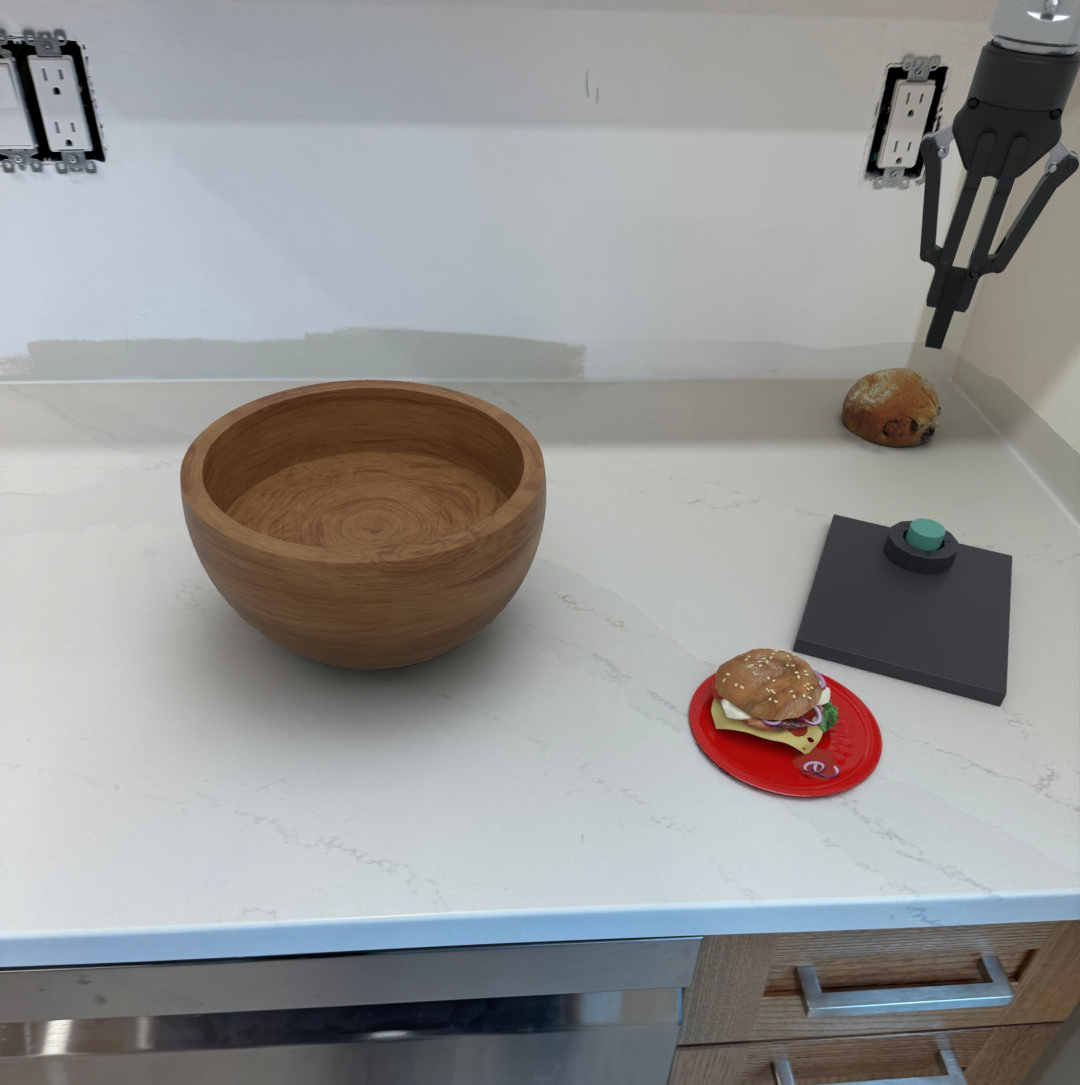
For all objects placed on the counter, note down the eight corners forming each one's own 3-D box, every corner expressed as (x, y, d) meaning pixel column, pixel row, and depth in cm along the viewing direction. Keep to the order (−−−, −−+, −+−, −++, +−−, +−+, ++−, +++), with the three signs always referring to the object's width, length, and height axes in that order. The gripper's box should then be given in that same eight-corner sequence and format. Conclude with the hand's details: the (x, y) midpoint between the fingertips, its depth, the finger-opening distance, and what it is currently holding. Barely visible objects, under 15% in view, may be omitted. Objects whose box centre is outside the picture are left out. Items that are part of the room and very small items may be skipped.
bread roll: (900, 438, 111) (903, 365, 108) (962, 441, 102) (967, 361, 99) (826, 447, 108) (827, 373, 106) (883, 452, 99) (885, 370, 96)
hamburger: (667, 765, 67) (680, 703, 63) (711, 647, 76) (725, 586, 72) (869, 824, 64) (896, 763, 60) (889, 693, 73) (914, 633, 69)
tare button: (941, 537, 85) (947, 522, 84) (938, 555, 83) (944, 540, 82) (906, 529, 85) (912, 514, 84) (903, 547, 83) (909, 532, 82)
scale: (1006, 568, 86) (1019, 540, 84) (999, 707, 73) (1015, 678, 71) (829, 526, 90) (838, 498, 88) (792, 651, 77) (800, 622, 74)
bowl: (476, 778, 65) (476, 602, 55) (153, 694, 70) (95, 516, 59) (574, 576, 83) (588, 412, 72) (310, 518, 87) (287, 356, 76)
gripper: (947, 41, 73) (860, 344, 90) (1128, 62, 71) (1004, 371, 87) (951, 26, 79) (868, 316, 95) (1120, 46, 76) (1004, 340, 92)
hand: (933, 342), depth 91 cm, fingers closed
